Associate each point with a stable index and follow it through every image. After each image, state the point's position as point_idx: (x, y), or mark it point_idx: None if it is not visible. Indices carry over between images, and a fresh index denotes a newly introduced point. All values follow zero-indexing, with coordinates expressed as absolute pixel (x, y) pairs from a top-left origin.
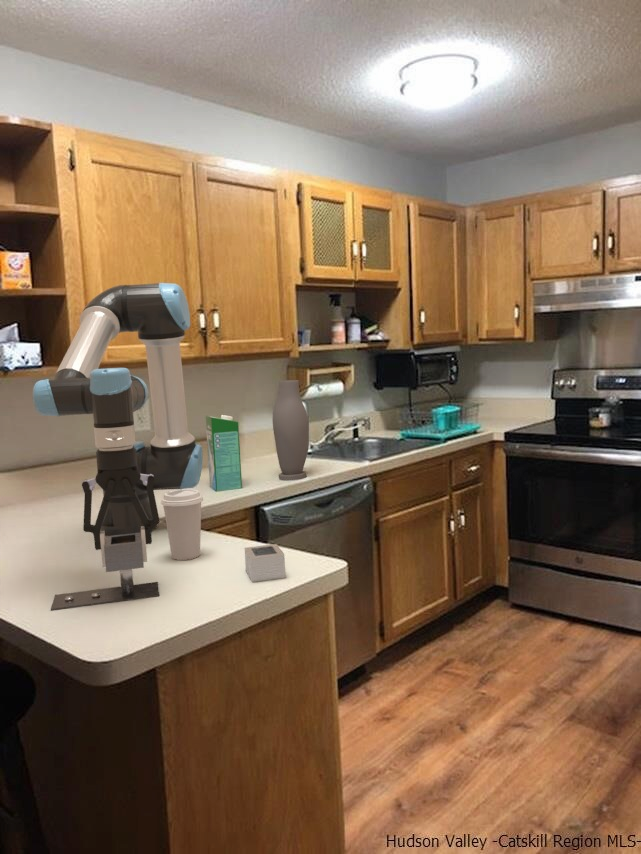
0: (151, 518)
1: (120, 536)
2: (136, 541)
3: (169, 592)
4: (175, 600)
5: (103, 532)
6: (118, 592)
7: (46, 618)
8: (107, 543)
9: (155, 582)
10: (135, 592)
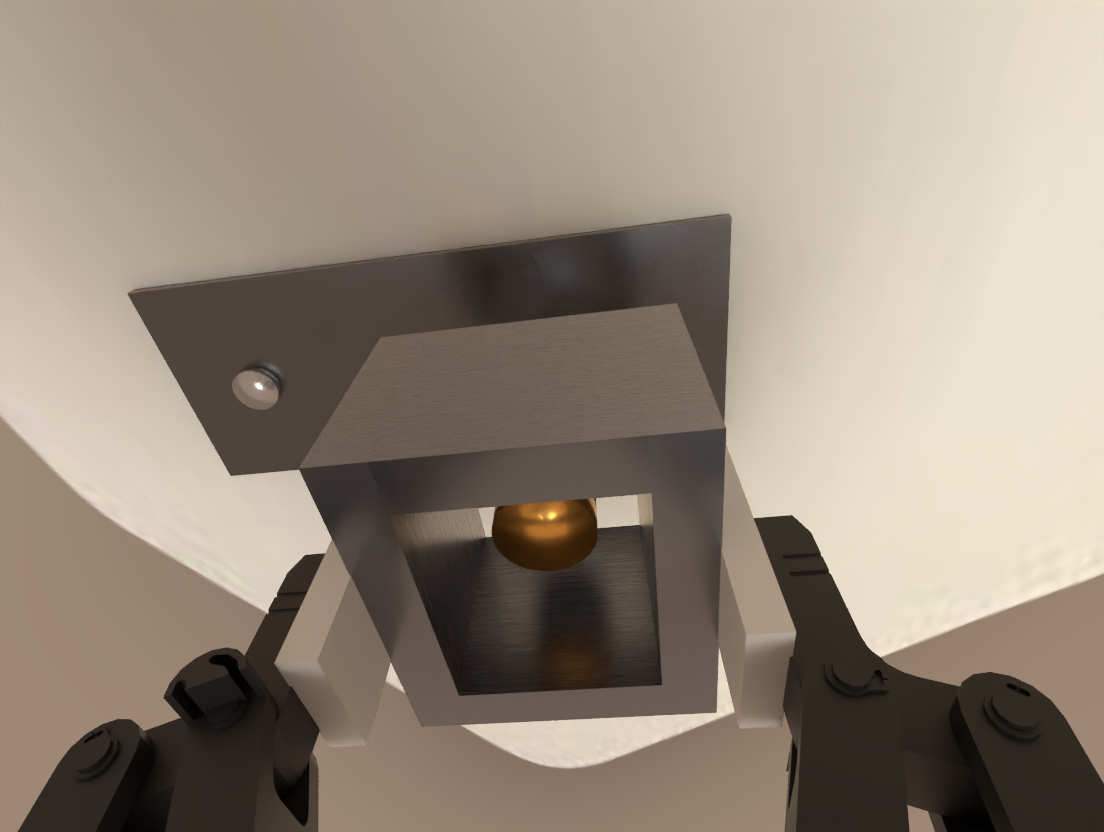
0: (943, 763)
1: (484, 503)
2: (671, 683)
3: (778, 386)
4: (791, 487)
5: (337, 707)
6: None
7: (264, 536)
8: (421, 673)
9: (715, 229)
10: None
